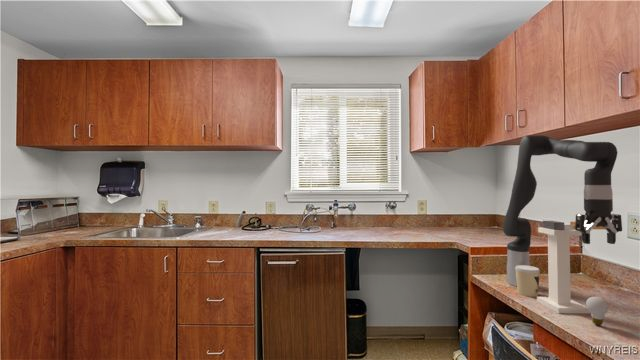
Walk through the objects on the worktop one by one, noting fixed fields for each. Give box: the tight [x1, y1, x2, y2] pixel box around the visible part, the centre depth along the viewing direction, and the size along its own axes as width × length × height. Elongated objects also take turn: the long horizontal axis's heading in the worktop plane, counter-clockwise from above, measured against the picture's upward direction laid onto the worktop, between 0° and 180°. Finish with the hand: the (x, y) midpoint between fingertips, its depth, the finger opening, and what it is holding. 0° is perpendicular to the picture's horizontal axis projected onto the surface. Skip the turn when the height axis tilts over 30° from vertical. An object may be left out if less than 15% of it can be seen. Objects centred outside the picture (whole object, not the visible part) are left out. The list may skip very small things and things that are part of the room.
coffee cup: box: [515, 265, 541, 298], centre depth 138 cm, size 9×9×12 cm
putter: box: [542, 220, 606, 230], centre depth 123 cm, size 6×22×3 cm, turn 89°
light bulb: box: [585, 296, 610, 327], centre depth 107 cm, size 6×6×10 cm
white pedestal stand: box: [536, 226, 591, 314], centre depth 123 cm, size 12×14×32 cm
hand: (598, 243), depth 106 cm, fingers open, 8 cm apart
